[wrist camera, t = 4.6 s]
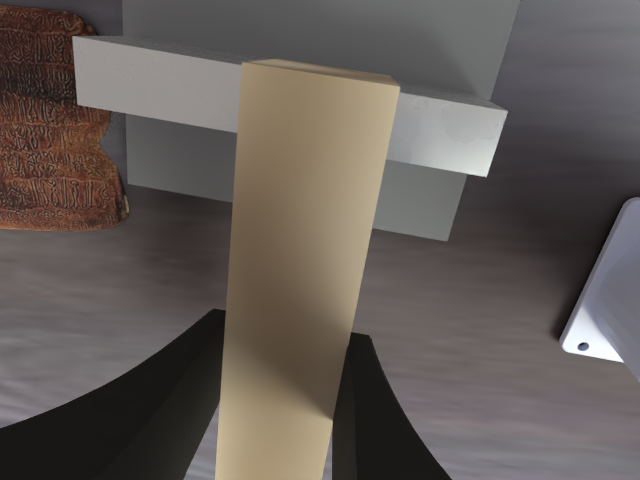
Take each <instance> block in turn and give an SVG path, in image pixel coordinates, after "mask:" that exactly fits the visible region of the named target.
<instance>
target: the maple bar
mask: <svg viewBox="0 0 640 480" xmlns="http://www.w3.org/2000/svg"><path fill="white" fill-rule="evenodd" d="M399 91H400V86H399V85H398V84H397V83H396V82H395V81H394V80H393V79H392V78H391V77H390V76H387V75H381V74H374V73H368V72H361V71H355V70H348V69H342V68H335V67H329V66H322V65H316V64H309V63H303V62H296V61H290V60H283V59H269V60H259V61H250V62H242V70H241V85H240V101H239V116H238V131H237V147H236V162H235V178H234V193H233V209H232V224H231V240H230V255H229V271H228V286H227V301H226V317H225V332H224V348H223V363H222V379H221V394H220V410H219V425H218V441H217V456H216V471H215V480H322V475H323V470H324V465H325V460H326V455H327V450H328V445H329V440H330V435H331V430H332V425H333V416H334V411H335V406H336V401H337V396H338V391H339V386H340V380H341V375H342V370H343V365H344V360H345V355H346V350H347V346H348V345H349V340H350V335H351V330H352V325H353V320H354V315H355V310H356V305H357V300H358V295H359V290H360V285H361V280H362V275H363V270H364V265H365V260H366V255H367V250H368V246H369V241H370V236H371V231H372V226H373V221H374V216H375V211H376V206H377V201H378V196H379V191H380V186H381V181H382V176H383V171H384V166H385V161H386V156H387V151H388V146H389V141H390V136H391V131H392V126H393V121H394V116H395V111H396V106H397V101H398V96H399Z"/></svg>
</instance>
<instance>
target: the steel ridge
mask: <svg viewBox="0 0 640 480" xmlns="http://www.w3.org/2000/svg"><path fill="white" fill-rule="evenodd" d="M72 39H73V52H74V65H75V78H76V91H77V105H81V106H87V107H93V108H98V109H104V110H110V111H115V112H121V113H127V114H132V115H138V116H144V117H149V118H155V119H161V120H166V121H172V122H178V123H183V124H189V125H195V126H200V127H206V128H212V129H217V130H223V131H229V132H234V133H237V131H238V116H239V101H240V85H241V70H242V62H250V61H259V60H269V59H268V58H262V57H257V56H251V55H245V54H239V53H233V52H227V51H222V50H216V49H210V48H204V47H198V46H192V45H187V44H181V43H175V42H169V41H163V40H158V39H152V38H146V37H140V36H72ZM394 81H395V82H396V83H397V84H398V85H399V86H400V91H399V96H398V101H397V106H396V111H395V116H394V121H393V126H392V131H391V136H390V141H389V146H388V151H387V156H386V159H387V160H393V161H399V162H404V163H410V164H416V165H421V166H427V167H433V168H438V169H444V170H450V171H455V172H461V173H467V174H472V175H478V176H484V177H487V174H488V171H489V168H490V165H491V162H492V159H493V156H494V153H495V150H496V147H497V144H498V140H499V137H500V134H501V131H502V128H503V125H504V122H505V119H506V116H507V113H508V111H507V110H505V109H503V108H501V107H500V106H498V105H496V104H494V103H492V102H490V101H489V100H487V99H485V98H483V97H481V96H480V95H478V94H472V93H466V92H460V91H455V90H449V89H443V88H437V87H431V86H425V85H420V84H414V83H408V82H402V81H396V80H394Z"/></svg>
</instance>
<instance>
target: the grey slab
mask: <svg viewBox="0 0 640 480" xmlns="http://www.w3.org/2000/svg"><path fill="white" fill-rule="evenodd" d="M520 1H521V0H122V23H123V36H140V37H146V38H152V39H158V40H163V41H169V42H175V43H181V44H187V45H192V46H198V47H204V48H210V49H216V50H222V51H227V52H233V53H239V54H245V55H251V56H257V57H262V58H268V59H283V60H290V61H296V62H303V63H309V64H316V65H322V66H329V67H335V68H342V69H348V70H355V71H361V72H368V73H374V74H381V75H387V76H390V77H391V78H392V79H393V80H396V81H402V82H408V83H414V84H420V85H425V86H431V87H437V88H443V89H449V90H455V91H460V92H466V93H472V94H478V95H480V96H481V97H483V98H485V99H487V100H489V101H490V99H491V96H492V93H493V89H494V86H495V83H496V79H497V76H498V73H499V70H500V66H501V63H502V60H503V56H504V53H505V50H506V47H507V43H508V40H509V37H510V33H511V30H512V27H513V24H514V20H515V17H516V14H517V11H518V7H519V4H520ZM125 116H126V147H127V177H128V184H131V185H137V186H142V187H148V188H154V189H159V190H165V191H170V192H176V193H181V194H187V195H192V196H198V197H203V198H209V199H214V200H220V201H225V202H231V203H233V193H234V178H235V162H236V147H237V133H234V132H229V131H223V130H217V129H212V128H206V127H200V126H195V125H189V124H183V123H178V122H172V121H166V120H161V119H155V118H149V117H144V116H138V115H132V114H127V113H125ZM467 175H468V174H467V173H461V172H455V171H450V170H444V169H438V168H433V167H427V166H421V165H416V164H410V163H404V162H399V161H393V160H387V159H386V161H385V166H384V171H383V176H382V181H381V186H380V191H379V196H378V201H377V206H376V211H375V216H374V221H373V226H372V228H375V229H380V230H386V231H392V232H397V233H403V234H408V235H414V236H419V237H425V238H430V239H436V240H441V241H447V240H448V237H449V234H450V231H451V227H452V224H453V221H454V217H455V214H456V211H457V208H458V204H459V201H460V198H461V194H462V191H463V188H464V185H465V181H466V178H467Z"/></svg>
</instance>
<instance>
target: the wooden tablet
mask: <svg viewBox="0 0 640 480" xmlns="http://www.w3.org/2000/svg"><path fill="white" fill-rule="evenodd" d="M72 36H98V35H97V34H96V32H95V31H94V29H93V28H92V27H91V26H90V25H89V24H88V23H87V22H86V21H85V20H84V19H83V18H81V17H79V16H77V15H75V14H72V13H70V12H68V11H59V10H48V9H41V8H28V7H19V6H8V5H0V229H19V230H41V231H42V230H47V231H90V230H100V229H107V228H111V227H114V226H117V225H119V224H121V223H122V222H124V220H125V219H126V218H127V217H128V216H129V205H128V200H127V196H126V194H125V190H124V187H123V183H122V180H121V177H120V174H119V171H118V169H117V166H116V165H115V164H114V163H113V162H112V160H111V159H110V158H109V157H108V156H107V155H106V154H105V152H104V151H103V150H102V149H101V148H100V141H101V139H102V138H103V137H104V134H105V132H106V130H107V129H108V125H109V123H110V115H111V111H110V110H104V109H98V108H93V107H87V106H81V105H77V91H76V78H75V65H74V52H73V39H72Z"/></svg>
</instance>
